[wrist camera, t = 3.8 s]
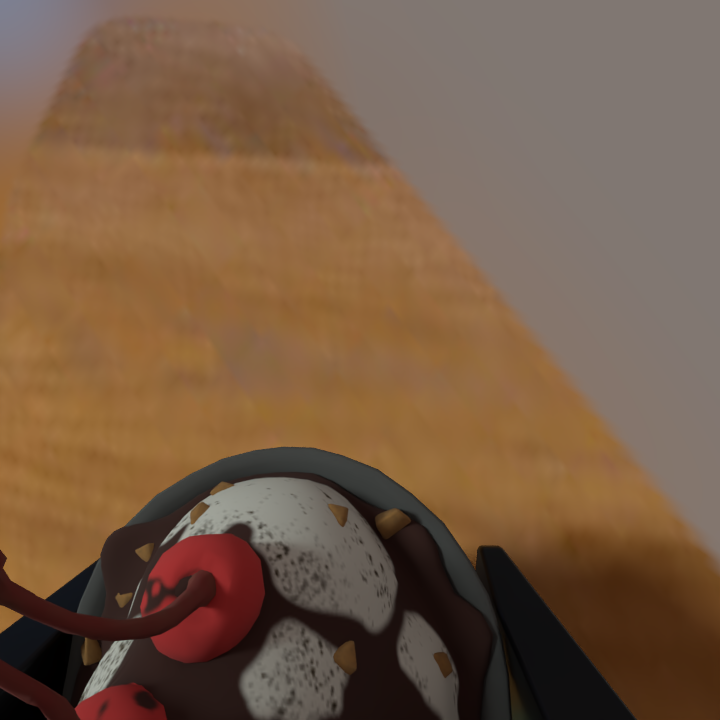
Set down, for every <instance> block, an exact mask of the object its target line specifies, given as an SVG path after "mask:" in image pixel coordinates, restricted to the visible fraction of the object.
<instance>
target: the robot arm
mask: <svg viewBox="0 0 720 720" xmlns="http://www.w3.org/2000/svg"><path fill="white" fill-rule="evenodd" d="M99 559H100V558H99ZM99 559H98V560H99ZM98 560H97V561H95V562H94V563H93V564H91V565H90V566H89V567H87V568H86V569H85V570H84V571H82V572H81V573H80V574H78V575H77V576H76V577H74V578H73V579H72V580H70V581H69V582H68V583H66V584H65V585H64V586H62V587H61V588H60V589H58V590H57V591H56V592H55V593H53V594H52V595H51V596H49V597H48V598H47V599H45V600H46V601H49V602H51V603H53V604H55V605H58V606H60V607H62V608H64V609H67V610H69V611H71V612H74V613H77V610H78V607H79V603H80V601H81V598H82V596H83V594H84V592H85V589H86V587H87V585H88V582H89V580H90V578H91V576H92V573H93V571H94V569H95V567H96V564H97V562H98ZM476 573H477V575H478V576H479V578H480V580H481V582H482V584H483V586H484V587H485V589H486V591H487V593H488V595H489V597H490V601H491V604H492V607H493V610H494V613H495V616H496V619H497V622H498V625H499V629H500V632H501V635H502V640H503V646H504V651H505V656H506V662H507V667H508V672H509V682H510V696H511V711H512V720H637V719H636V718H635V717H634V715H633V714H632V713H631V712H630V710H629V709H628V708H627V707H626V705H625V704H624V703H623V701H622V700H621V699H620V698H619V696H618V695H617V694H616V693H615V691H614V690H613V689H612V687H611V686H610V685H609V684H608V682H607V681H606V680H605V678H604V677H603V676H602V675H601V673H600V672H599V671H598V670H597V668H596V667H595V666H594V664H593V663H592V662H591V661H590V659H589V658H588V657H587V656H586V654H585V653H584V652H583V650H582V649H581V648H580V647H579V645H578V644H577V643H576V641H575V640H574V639H573V638H572V636H571V635H570V634H569V633H568V631H567V630H566V629H565V627H564V626H563V625H562V624H561V622H560V621H559V620H558V619H557V617H556V616H555V615H554V613H553V612H552V611H551V610H550V608H549V607H548V606H547V605H546V603H545V602H544V601H543V599H542V598H541V597H540V596H539V594H538V593H537V592H536V590H535V589H534V588H533V587H532V585H531V584H530V583H529V582H528V580H527V579H526V578H525V576H524V575H523V574H522V573H521V571H520V570H519V569H518V568H517V566H516V565H515V564H514V562H513V561H512V560H511V559H510V557H509V556H508V555H507V553H506V552H505V551H504V550H503V549H502V548H501V547H500V546H487V545H482V546H479V547H478V550H477V561H476ZM72 637H73V634H67V633H64V632H62V631H59V630H57V629H54V628H52V627H50V626H47V625H45V624H42V623H40V622H37V621H35V620H32V619H30V618H28V617H26V616H23V617H22V618H20V619H19V620H18V621H16V622H15V623H14V624H12V625H11V626H10V627H8V628H7V629H6V630H4V631H3V632H2V633H0V659H1V660H2V661H4V662H6V663H7V664H9V665H11V666H12V667H14V668H16V669H17V670H19V671H21V672H23V673H25V674H26V675H28V676H30V677H32V678H33V679H35V680H37V681H39V682H40V683H42V684H44V685H46V686H47V687H49V688H50V689H52V690H54V691H55V692H57V693H58V694H60V695H61V696H62V694H63V688H64V682H65V678H66V674H67V668H68V662H69V656H70V650H71V644H72ZM0 720H47V718H46V717H45V716H44V714H43V713H42V712H41V710H40V709H39V708H38V707H36V706H33V705H30V704H28V703H26V702H24V701H22V700H20V699H19V698H17V697H15V696H13V695H12V694H10V693H8V692H6V691H5V690H3V689H1V688H0Z"/></svg>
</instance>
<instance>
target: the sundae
mask: <svg viewBox="0 0 720 720" xmlns="http://www.w3.org/2000/svg"><path fill="white" fill-rule="evenodd" d="M6 559H7V558H6V556H5V555H4V554H3V553H2V551H1V550H0V605H2V606H5V607H7V608H9V609H11V610H14V611H16V612H18V613H20V614H22V615H24V616H26V617H28V618H30V619H32V620H35V621H37V622H40V623H42V624H45V625H47V626H50V627H52V628H54V629H57V630H59V631H62V632H64V633H67V634H73V637H72V644H71V650H70V656H69V662H68V668H67V674H66V678H65V682H64V688H63V694H62V696H61V695H60V694H58V693H57V692H55V691H54V690H52V689H50V688H49V687H47V686H46V685H44V684H42V683H40V682H39V681H37V680H35V679H33V678H32V677H30V676H28V675H26V674H25V673H23V672H21V671H19V670H17V669H16V668H14V667H12V666H11V665H9V664H7V663H6V662H4V661H2V660H1V659H0V688H1V689H3V690H5V691H6V692H8V693H10V694H12V695H13V696H15V697H17V698H19V699H20V700H22V701H24V702H26V703H28V704H30V705H33V706H36V707H38V708H39V709H40V710H41V712H42V713H43V714H44V716H45V717H46V718H47V720H512V711H511V696H510V682H509V672H508V667H507V662H506V656H505V651H504V646H503V640H502V635H501V632H500V629H499V625H498V622H497V619H496V616H495V613H494V610H493V607H492V604H491V601H490V597H489V595H488V593H487V591H486V589H485V587H484V586H483V584H482V582H481V580H480V578H479V576H478V575H477V573H476V571H475V569H474V567H473V565H472V564H471V562H470V560H469V559H468V557H467V556H466V554H465V553H464V551H463V550H462V549H461V547H460V546H459V544H458V543H457V541H456V540H455V538H454V537H453V536H452V534H451V533H450V531H449V530H448V528H447V527H446V525H445V524H444V523H443V522H442V521H441V520H440V519H439V518H438V517H437V516H436V515H435V514H433V513H432V512H431V511H430V510H429V509H428V508H427V507H426V506H425V505H424V504H423V503H421V502H420V501H419V500H418V499H417V498H416V497H415V496H414V495H413V494H412V493H410V492H409V491H407V490H406V489H405V488H403V487H402V486H400V485H399V484H398V483H396V482H395V481H393V480H392V479H391V478H389V477H388V476H386V475H385V474H384V473H382V472H381V471H379V470H378V469H376V468H373V467H371V466H368V465H366V464H363V463H361V462H358V461H355V460H353V459H350V458H348V457H345V456H343V455H339V454H335V453H332V452H328V451H324V450H320V449H316V448H306V447H278V448H270V449H262V450H254V451H251V452H247V453H243V454H239V455H235V456H231V457H228V458H224V459H221V460H219V461H217V462H215V463H213V464H211V465H209V466H206V467H204V468H202V469H200V470H198V471H196V472H194V473H192V474H190V475H188V476H187V477H185V478H183V479H182V480H180V481H179V482H177V483H175V484H174V485H172V486H170V487H169V488H167V489H166V490H164V491H162V492H161V493H159V494H157V495H156V496H155V497H154V498H153V499H152V500H151V501H150V502H149V503H148V504H147V505H146V506H145V507H144V508H143V509H142V510H141V511H140V512H139V513H138V514H137V515H136V516H135V517H133V518H132V519H131V520H130V521H129V522H128V523H127V524H126V525H125V526H124V527H122V528H120V529H118V530H116V531H114V532H113V533H112V534H111V535H110V536H109V537H108V538H107V540H106V542H105V544H104V546H103V549H102V552H101V558H100V559H99V560H98V562H97V564H96V567H95V569H94V571H93V573H92V576H91V578H90V580H89V582H88V585H87V587H86V589H85V592H84V594H83V596H82V598H81V601H80V603H79V607H78V610H77V613H74V612H71V611H69V610H67V609H64V608H62V607H60V606H58V605H55V604H53V603H51V602H49V601H46V600H44V599H42V598H40V597H37V596H36V595H35V594H33V593H32V592H30V591H28V590H26V589H25V588H23V587H21V586H19V585H18V584H16V583H14V582H12V581H11V580H10V579H9V577H8V576H7V574H6V572H5V571H4V569H3V566H4V564H5V562H6Z"/></svg>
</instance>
